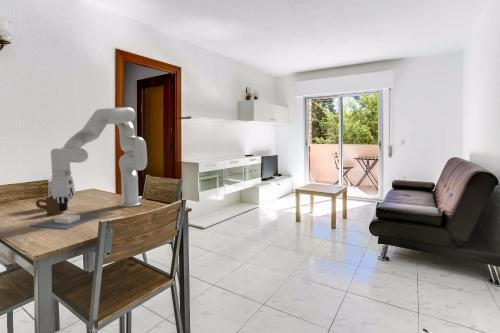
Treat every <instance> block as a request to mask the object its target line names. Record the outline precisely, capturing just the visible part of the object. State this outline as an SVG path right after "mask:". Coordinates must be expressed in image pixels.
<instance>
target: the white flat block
mask: <svg viewBox="0 0 500 333" xmlns="http://www.w3.org/2000/svg"><path fill="white" fill-rule="evenodd" d="M80 216H81V215H80V214H68V213H67V214H61V215H60V216H59V215H58V216H56V217H53V218H54V220H55V223H63V224H70V223H73V222H76V221H79V220H80Z"/></svg>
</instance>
